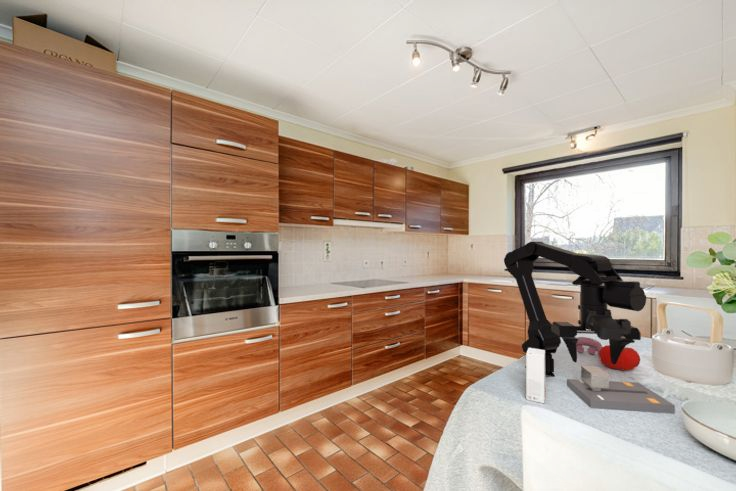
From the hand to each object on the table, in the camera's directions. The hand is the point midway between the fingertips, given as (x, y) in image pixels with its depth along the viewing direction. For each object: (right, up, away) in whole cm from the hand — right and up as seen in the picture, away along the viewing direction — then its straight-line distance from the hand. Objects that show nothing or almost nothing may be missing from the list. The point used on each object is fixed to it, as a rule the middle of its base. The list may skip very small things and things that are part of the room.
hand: (594, 362), depth 81 cm
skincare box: (-15, -9, 0) cm, 18 cm away
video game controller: (+20, -9, +32) cm, 39 cm away
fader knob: (0, -7, 0) cm, 7 cm away
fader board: (+5, -9, -1) cm, 10 cm away
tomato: (+22, -9, +20) cm, 31 cm away
